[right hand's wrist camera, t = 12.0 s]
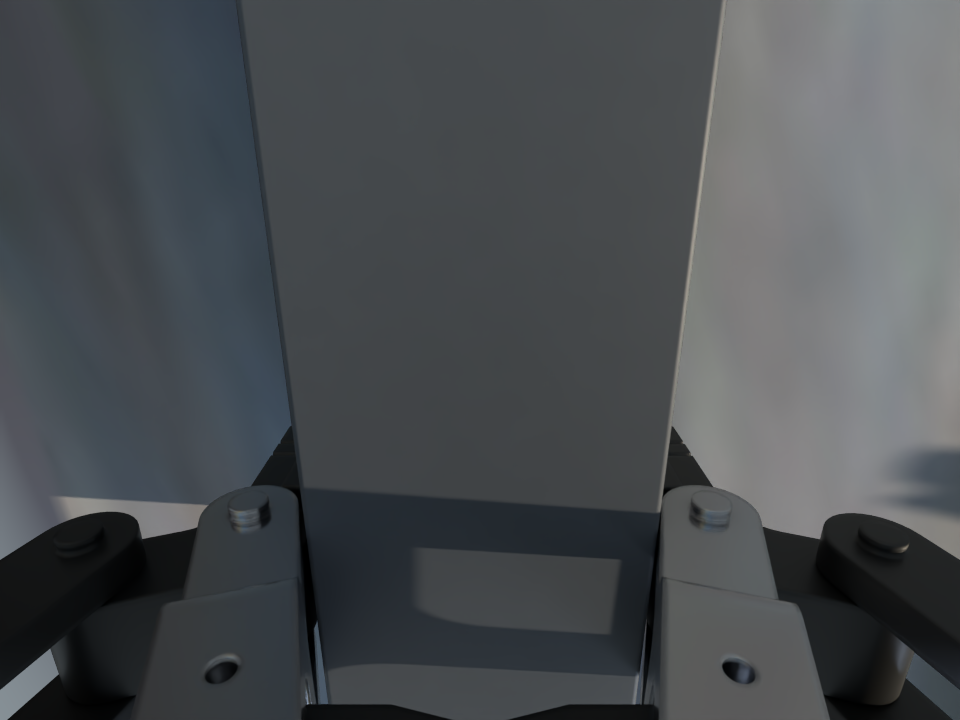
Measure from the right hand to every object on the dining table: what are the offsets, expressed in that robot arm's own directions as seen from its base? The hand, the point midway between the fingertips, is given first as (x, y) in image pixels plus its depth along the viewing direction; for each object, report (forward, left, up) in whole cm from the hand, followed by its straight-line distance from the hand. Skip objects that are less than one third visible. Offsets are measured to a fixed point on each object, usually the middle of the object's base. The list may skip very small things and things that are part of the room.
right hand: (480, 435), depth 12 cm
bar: (+21, +15, -4) cm, 26 cm away
